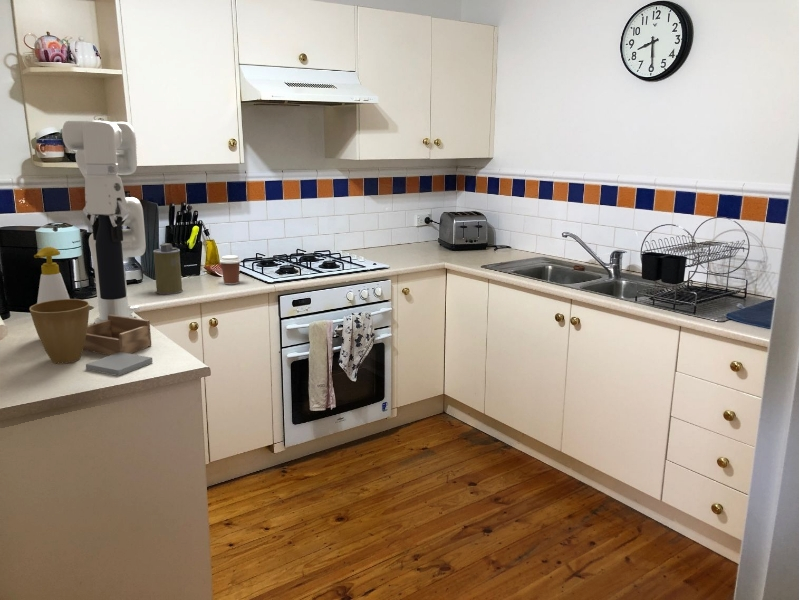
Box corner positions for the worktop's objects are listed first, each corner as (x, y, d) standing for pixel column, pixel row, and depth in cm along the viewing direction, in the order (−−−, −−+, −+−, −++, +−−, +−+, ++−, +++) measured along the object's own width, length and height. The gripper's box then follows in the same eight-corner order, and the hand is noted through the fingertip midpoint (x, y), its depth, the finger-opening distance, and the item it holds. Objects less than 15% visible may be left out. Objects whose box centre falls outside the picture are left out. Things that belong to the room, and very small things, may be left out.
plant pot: (28, 359, 187) (22, 304, 183) (83, 348, 197) (78, 296, 193) (46, 372, 177) (39, 314, 173) (102, 360, 187) (97, 305, 183)
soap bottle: (26, 344, 201) (14, 249, 194) (45, 334, 211) (35, 244, 204) (67, 345, 200) (57, 250, 193) (85, 335, 210) (75, 245, 204)
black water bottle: (117, 300, 174) (107, 185, 167) (95, 299, 175) (84, 184, 168) (131, 295, 180) (121, 183, 173) (109, 293, 181) (99, 183, 174)
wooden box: (112, 339, 207) (110, 314, 205) (151, 345, 200) (149, 320, 199) (80, 349, 196) (77, 323, 194) (120, 356, 190) (118, 330, 188)
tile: (120, 356, 190) (120, 351, 189) (152, 362, 185) (152, 357, 185) (86, 369, 179) (85, 364, 179) (119, 375, 174) (118, 370, 174)
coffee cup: (231, 286, 285) (229, 258, 283) (216, 283, 290) (214, 256, 287) (246, 282, 293) (245, 256, 290) (231, 280, 298) (230, 254, 295)
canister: (171, 295, 267) (168, 246, 263) (150, 293, 271) (146, 244, 266) (188, 290, 277) (185, 242, 273) (168, 288, 281) (164, 241, 276)
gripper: (138, 171, 170) (143, 241, 174) (89, 169, 177) (96, 236, 181) (115, 172, 163) (121, 244, 167) (65, 170, 170) (72, 240, 174)
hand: (108, 239), depth 174 cm, fingers closed on black water bottle, 5 cm apart
